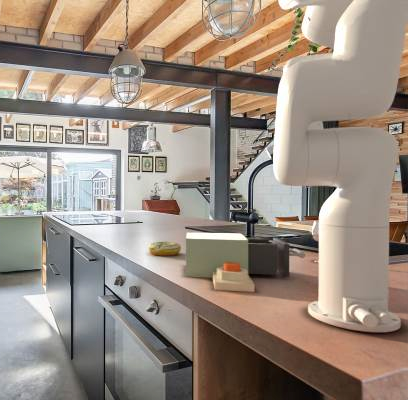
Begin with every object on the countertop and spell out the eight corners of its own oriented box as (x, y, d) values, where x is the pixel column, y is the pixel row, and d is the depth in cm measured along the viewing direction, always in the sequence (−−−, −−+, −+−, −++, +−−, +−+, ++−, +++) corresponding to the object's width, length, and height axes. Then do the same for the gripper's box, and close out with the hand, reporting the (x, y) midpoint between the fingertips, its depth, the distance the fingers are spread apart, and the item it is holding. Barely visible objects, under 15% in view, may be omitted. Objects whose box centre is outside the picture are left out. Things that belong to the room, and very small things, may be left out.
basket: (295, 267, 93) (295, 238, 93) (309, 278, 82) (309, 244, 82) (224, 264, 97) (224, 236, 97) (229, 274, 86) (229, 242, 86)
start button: (241, 273, 78) (241, 265, 78) (224, 272, 79) (224, 264, 79) (239, 269, 81) (239, 262, 81) (222, 269, 82) (222, 261, 82)
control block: (254, 292, 74) (254, 275, 74) (214, 289, 76) (214, 273, 76) (247, 280, 84) (247, 265, 84) (212, 278, 86) (212, 264, 86)
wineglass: (338, 264, 101) (338, 222, 101) (316, 263, 102) (316, 222, 102) (329, 260, 107) (330, 220, 106) (308, 259, 108) (309, 220, 107)
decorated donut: (143, 252, 123) (143, 241, 123) (170, 250, 127) (170, 240, 127) (157, 257, 114) (157, 245, 113) (186, 255, 117) (186, 243, 117)
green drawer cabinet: (241, 268, 97) (241, 233, 97) (248, 279, 85) (248, 239, 84) (186, 266, 100) (186, 232, 100) (186, 276, 88) (185, 238, 88)
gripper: (269, 112, 92) (269, 178, 93) (343, 109, 88) (343, 177, 89) (263, 118, 99) (263, 179, 100) (331, 115, 96) (331, 178, 96)
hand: (300, 178), depth 94 cm, fingers open, 9 cm apart
